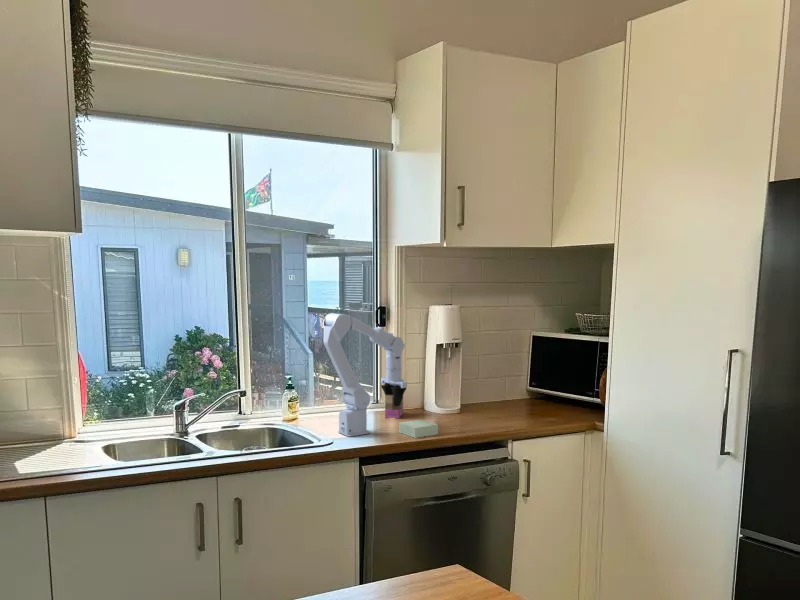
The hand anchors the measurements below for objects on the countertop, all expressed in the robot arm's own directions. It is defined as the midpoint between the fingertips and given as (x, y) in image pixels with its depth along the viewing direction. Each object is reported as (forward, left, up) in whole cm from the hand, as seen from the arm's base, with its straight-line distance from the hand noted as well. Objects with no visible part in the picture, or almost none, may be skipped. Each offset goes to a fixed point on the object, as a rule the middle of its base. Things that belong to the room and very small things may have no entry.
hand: (393, 404), depth 224 cm
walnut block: (0, 0, -2) cm, 2 cm away
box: (+11, +16, -9) cm, 21 cm away
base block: (+2, -13, -8) cm, 16 cm away
